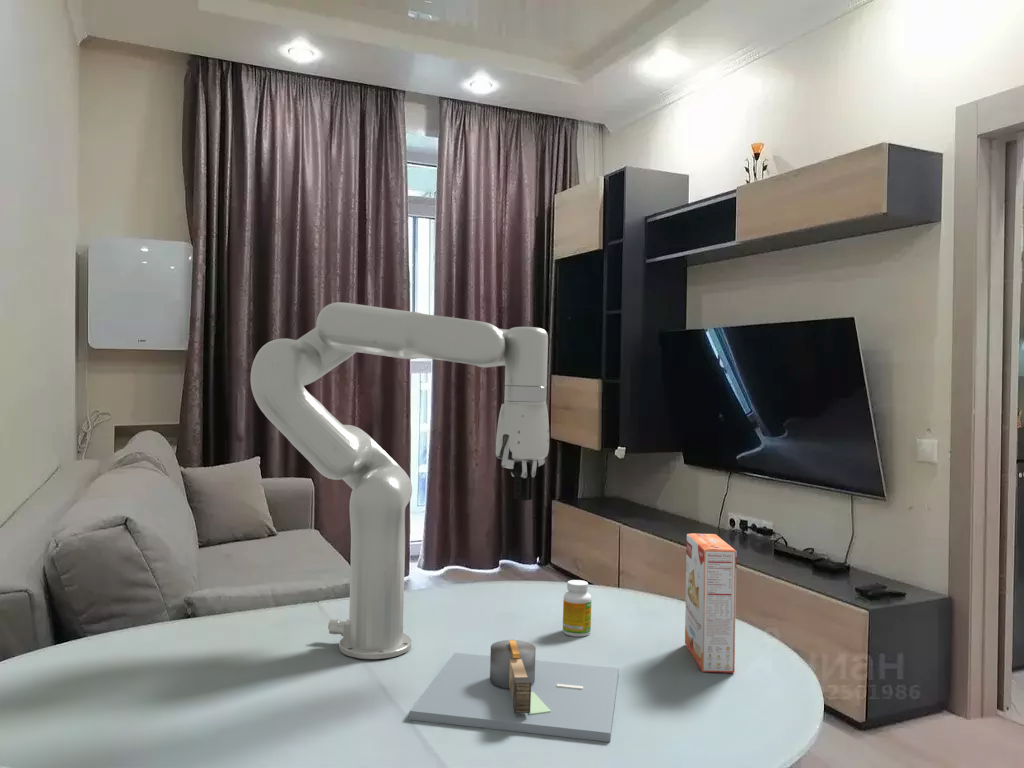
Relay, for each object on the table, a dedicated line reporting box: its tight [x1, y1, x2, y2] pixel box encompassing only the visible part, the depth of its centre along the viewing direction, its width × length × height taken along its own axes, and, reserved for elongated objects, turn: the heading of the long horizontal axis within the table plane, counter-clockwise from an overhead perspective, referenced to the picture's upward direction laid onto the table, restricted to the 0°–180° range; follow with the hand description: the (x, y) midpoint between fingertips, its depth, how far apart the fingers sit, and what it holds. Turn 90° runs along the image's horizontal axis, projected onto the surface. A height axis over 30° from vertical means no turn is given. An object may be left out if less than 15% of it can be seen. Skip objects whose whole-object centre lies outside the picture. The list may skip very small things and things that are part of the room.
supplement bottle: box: [562, 579, 592, 638], centre depth 146 cm, size 5×5×10 cm
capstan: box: [489, 639, 537, 713], centre depth 113 cm, size 16×7×6 cm, turn 6°
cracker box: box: [684, 532, 738, 674], centre depth 134 cm, size 14×6×21 cm, turn 179°
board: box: [409, 652, 620, 743], centre depth 115 cm, size 28×24×1 cm
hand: (522, 499), depth 135 cm, fingers closed
